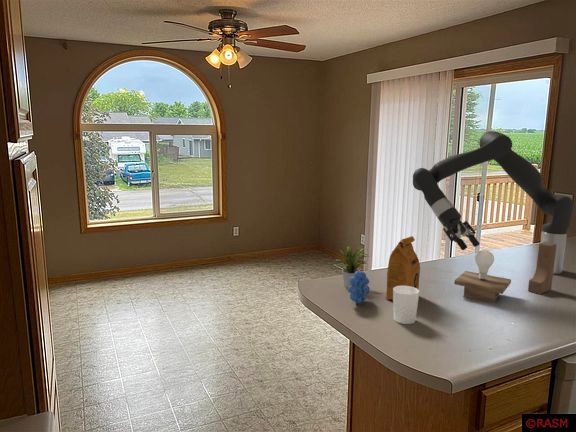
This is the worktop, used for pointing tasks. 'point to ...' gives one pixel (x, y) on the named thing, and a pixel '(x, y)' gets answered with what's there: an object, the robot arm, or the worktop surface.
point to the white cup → (405, 304)
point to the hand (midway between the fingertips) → (471, 247)
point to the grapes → (358, 287)
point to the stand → (482, 286)
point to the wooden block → (543, 269)
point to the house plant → (351, 264)
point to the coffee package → (403, 267)
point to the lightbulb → (484, 262)
